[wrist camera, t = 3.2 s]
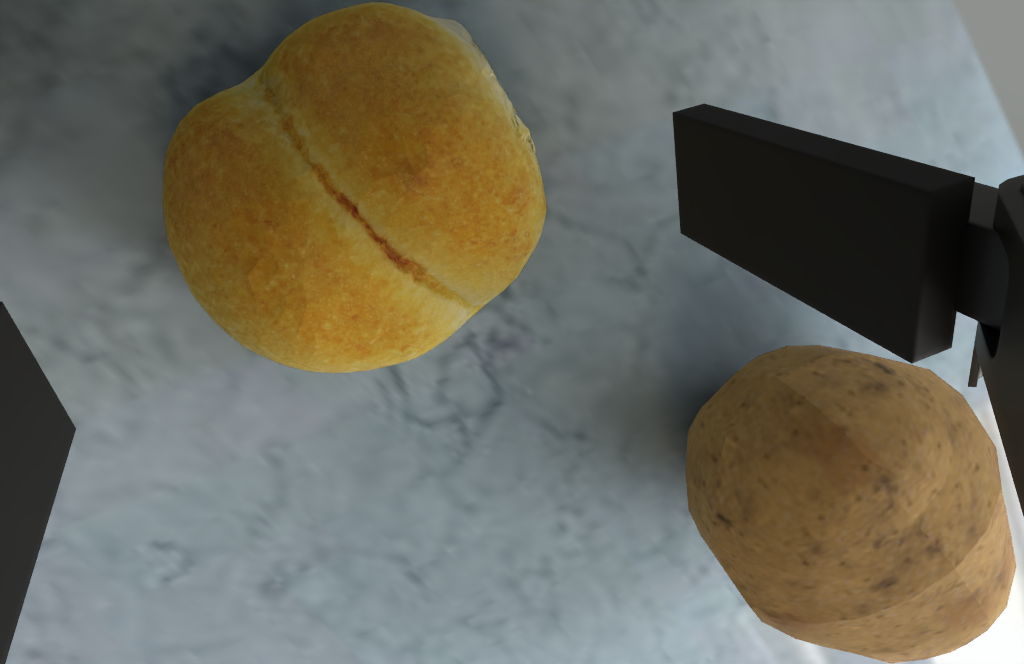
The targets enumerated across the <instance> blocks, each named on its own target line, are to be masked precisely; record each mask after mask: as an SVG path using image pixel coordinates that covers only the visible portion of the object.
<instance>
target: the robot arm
mask: <svg viewBox="0 0 1024 664" xmlns="http://www.w3.org/2000/svg"><path fill="white" fill-rule="evenodd" d="M673 126H674V141H675V156H676V171H677V186H678V200H679V215H680V230H681V234H683V235H685V236H687V237H688V238H690V239H692V240H694V241H696V242H697V243H699V244H701V245H703V246H704V247H706V248H708V249H710V250H711V251H713V252H715V253H717V254H719V255H720V256H722V257H724V258H726V259H727V260H729V261H731V262H733V263H735V264H736V265H738V266H740V267H742V268H743V269H745V270H747V271H749V272H750V273H752V274H754V275H756V276H758V277H759V278H761V279H763V280H765V281H766V282H768V283H770V284H772V285H773V286H775V287H777V288H779V289H781V290H782V291H784V292H786V293H788V294H789V295H791V296H793V297H795V298H797V299H798V300H800V301H802V302H804V303H805V304H807V305H809V306H811V307H812V308H814V309H816V310H818V311H820V312H821V313H823V314H825V315H827V316H828V317H830V318H832V319H834V320H836V321H837V322H839V323H841V324H843V325H844V326H846V327H848V328H850V329H851V330H853V331H855V332H857V333H859V334H860V335H862V336H864V337H866V338H867V339H869V340H871V341H873V342H874V343H876V344H878V345H880V346H882V347H883V348H885V349H887V350H889V351H890V352H892V353H894V354H896V355H898V356H899V357H901V358H903V359H905V360H906V361H908V362H910V363H914V362H917V361H919V360H922V359H924V358H927V357H929V356H932V355H934V354H937V353H939V352H942V351H944V350H947V349H949V348H952V341H953V333H954V326H955V319H956V312H960V313H962V314H964V315H966V316H968V317H970V318H973V319H975V320H977V321H978V324H977V331H976V337H975V344H974V350H973V356H972V363H971V369H970V376H969V382H968V387H976V386H977V381H978V379H979V378H980V377H982V376H983V377H984V380H985V384H986V387H987V391H988V394H989V398H990V401H991V405H992V408H993V412H994V415H995V419H996V422H997V426H998V429H999V432H1000V436H1001V439H1002V443H1003V446H1004V450H1005V453H1006V457H1007V460H1008V464H1009V467H1010V471H1011V474H1012V478H1013V481H1014V485H1015V488H1016V492H1017V495H1018V498H1019V502H1020V505H1021V509H1022V512H1023V516H1024V175H1022V176H1018V177H1014V178H1010V179H1007V180H1006V181H1004V182H1003V183H1001V184H1000V185H999V189H998V188H994V187H991V186H987V185H984V184H980V183H976V182H974V181H975V177H971V176H967V175H964V174H960V173H956V172H953V171H949V170H945V169H942V168H938V167H934V166H931V165H927V164H923V163H920V162H916V161H912V160H909V159H905V158H901V157H898V156H894V155H890V154H887V153H883V152H879V151H876V150H872V149H868V148H865V147H861V146H857V145H854V144H850V143H846V142H843V141H839V140H836V139H832V138H828V137H825V136H821V135H817V134H814V133H810V132H806V131H803V130H799V129H795V128H792V127H788V126H784V125H781V124H777V123H773V122H770V121H766V120H762V119H759V118H755V117H751V116H748V115H744V114H740V113H737V112H733V111H729V110H726V109H722V108H718V107H715V106H711V105H707V104H701V105H698V106H694V107H690V108H687V109H683V110H680V111H676V112H673ZM75 430H76V428H75V426H74V424H73V423H72V421H71V419H70V417H69V416H68V414H67V412H66V411H65V409H64V407H63V405H62V404H61V402H60V400H59V399H58V397H57V395H56V393H55V392H54V390H53V388H52V387H51V385H50V383H49V381H48V380H47V378H46V376H45V374H44V373H43V371H42V369H41V368H40V366H39V364H38V362H37V361H36V359H35V357H34V356H33V354H32V352H31V350H30V349H29V347H28V345H27V344H26V342H25V340H24V338H23V337H22V335H21V333H20V331H19V330H18V328H17V326H16V325H15V323H14V321H13V319H12V318H11V316H10V314H9V313H8V311H7V309H6V307H5V306H4V304H3V302H0V664H5V662H6V659H7V656H8V652H9V649H10V646H11V642H12V639H13V636H14V632H15V629H16V626H17V623H18V619H19V616H20V613H21V609H22V606H23V603H24V599H25V596H26V593H27V589H28V586H29V583H30V579H31V576H32V573H33V569H34V566H35V563H36V560H37V556H38V553H39V550H40V546H41V543H42V540H43V536H44V533H45V530H46V526H47V523H48V520H49V516H50V513H51V510H52V506H53V503H54V500H55V496H56V493H57V490H58V487H59V483H60V480H61V477H62V473H63V470H64V467H65V463H66V460H67V457H68V453H69V450H70V447H71V443H72V440H73V437H74V433H75Z"/></svg>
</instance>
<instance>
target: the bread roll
mask: <svg viewBox="0 0 1024 664" xmlns="http://www.w3.org/2000/svg"><path fill="white" fill-rule="evenodd" d="M535 152H536V149H535V145H534V142H533V139H532V138H531V136H530V131H529V129H528V128H527V127H526V126H525V125H524V124H523V123H522V121H521V120H520V119H519V117H518V116H517V115H516V110H515V108H514V107H513V105H512V103H511V101H510V100H509V98H508V96H507V95H506V93H505V91H504V90H503V88H502V87H501V86H500V84H499V83H498V80H497V78H496V76H495V74H494V72H493V70H492V69H491V67H490V65H489V63H488V62H487V60H486V58H485V56H484V55H483V54H482V52H481V51H480V50H479V48H478V46H477V45H476V44H475V43H474V41H473V39H472V36H471V35H470V34H469V32H468V31H467V30H466V29H465V28H464V27H463V26H462V25H461V24H460V23H459V22H457V21H455V20H451V19H442V18H437V17H431V16H427V15H425V14H423V13H420V12H418V11H415V10H413V9H409V8H405V7H402V6H398V5H395V4H389V3H383V2H368V3H363V4H358V5H353V6H350V7H346V8H343V9H339V10H336V11H333V12H329V13H326V14H324V15H321V16H319V17H316V18H314V19H311V20H309V21H308V22H306V23H305V24H303V25H302V26H301V27H299V28H298V29H296V30H295V31H294V32H293V33H291V34H290V35H289V36H288V37H286V38H285V39H284V41H283V42H282V43H281V44H280V45H279V46H278V47H277V48H276V49H275V50H274V51H273V52H272V54H271V55H270V57H269V59H268V60H267V62H266V63H265V64H264V66H262V67H261V68H260V69H259V70H258V71H257V72H255V73H254V74H253V75H252V76H250V77H249V78H248V79H246V80H245V81H244V82H242V83H241V84H239V85H236V86H234V87H231V88H229V89H226V90H223V91H221V92H219V93H217V94H215V95H213V96H211V97H210V98H208V99H206V100H204V101H202V102H200V103H199V104H197V105H196V106H194V107H193V108H192V109H191V110H190V112H189V113H188V114H187V115H186V116H185V117H184V118H183V119H182V120H181V122H180V123H179V125H178V127H177V129H176V131H175V133H174V135H173V137H172V139H171V141H170V143H169V146H168V149H167V152H166V156H165V161H164V177H163V209H164V219H165V226H166V232H167V238H168V243H169V246H170V248H171V250H172V252H173V254H174V257H175V259H176V261H177V263H178V265H179V268H180V270H181V273H182V275H183V277H184V279H185V281H186V283H187V285H188V287H189V289H190V291H191V293H192V294H193V296H194V297H195V299H196V300H197V301H198V303H199V304H200V305H201V306H202V307H203V309H204V310H205V311H206V312H207V313H208V315H209V316H210V317H211V318H212V319H213V320H214V322H215V323H216V324H217V325H219V326H220V327H221V328H222V329H223V330H224V331H226V332H227V333H228V334H229V335H230V336H231V337H233V338H234V339H235V340H236V341H237V342H239V343H240V344H241V345H242V346H244V347H245V348H247V349H249V350H251V351H253V352H255V353H256V354H258V355H261V356H263V357H266V358H268V359H270V360H273V361H275V362H277V363H280V364H283V365H286V366H289V367H293V368H297V369H302V370H306V371H311V372H325V373H344V372H356V371H364V370H372V369H377V368H382V367H386V366H390V365H394V364H398V363H401V362H405V361H408V360H411V359H414V358H417V357H419V356H421V355H422V354H424V353H426V352H428V351H430V350H431V349H433V348H434V347H436V346H437V345H439V344H441V343H443V342H444V341H445V340H446V339H448V338H449V337H450V336H451V335H452V334H453V333H454V332H455V331H457V330H458V329H459V328H460V327H461V326H462V325H463V324H465V323H466V322H467V321H468V320H469V319H470V318H471V317H472V316H473V315H474V314H475V313H476V312H477V311H479V310H480V309H481V308H482V307H484V306H485V305H486V304H487V303H488V302H490V301H491V300H492V299H493V298H495V297H496V296H497V295H498V294H500V293H501V292H502V291H504V290H505V289H506V288H507V287H508V286H509V285H510V284H511V283H512V282H513V281H514V280H515V279H516V278H517V277H518V276H519V274H520V272H521V271H522V269H523V267H524V266H525V264H526V262H527V261H528V259H529V258H530V256H531V254H532V253H533V251H534V249H535V248H536V246H537V244H538V241H539V239H540V236H541V233H542V229H543V226H544V222H545V216H546V211H547V205H546V198H545V193H544V188H543V181H542V177H541V173H540V168H539V163H537V156H536V154H535Z"/></svg>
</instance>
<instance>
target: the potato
mask: <svg viewBox="0 0 1024 664" xmlns="http://www.w3.org/2000/svg"><path fill="white" fill-rule="evenodd" d="M686 483H687V496H688V508H689V511H690V513H691V516H692V518H693V520H694V522H695V524H696V526H697V528H698V530H699V532H700V534H701V536H702V538H703V539H704V541H705V542H706V544H707V545H708V546H709V548H710V549H711V551H712V552H713V554H714V555H715V557H716V558H717V560H718V561H719V563H720V564H721V565H722V567H723V568H724V570H725V571H726V573H727V574H728V576H729V577H730V579H731V580H732V582H733V583H734V584H735V586H736V587H737V589H738V590H739V592H740V593H741V595H742V596H743V598H744V599H745V601H746V602H747V603H748V605H749V606H750V607H751V609H752V610H753V611H754V612H755V614H756V615H757V616H758V617H759V619H760V620H761V621H762V622H764V623H766V624H768V625H770V626H772V627H774V628H776V629H778V630H779V631H781V632H783V633H785V634H787V635H789V636H791V637H793V638H795V639H799V640H802V641H806V642H809V643H813V644H817V645H820V646H824V647H828V648H832V649H837V650H841V651H846V652H850V653H855V654H859V655H863V656H866V657H870V658H873V659H877V660H880V661H884V662H888V663H897V662H906V661H914V660H923V659H928V658H931V657H935V656H938V655H942V654H946V653H949V652H952V651H954V650H956V649H958V648H960V647H962V646H964V645H966V644H968V643H969V642H971V641H972V640H974V639H975V638H977V637H978V636H980V635H981V634H983V633H984V632H986V631H987V630H988V629H989V628H990V627H991V625H992V624H993V623H994V622H995V620H996V619H997V618H998V617H999V616H1000V614H1001V613H1002V612H1003V611H1004V609H1005V608H1006V607H1007V603H1008V598H1009V594H1010V590H1011V586H1012V582H1013V578H1014V573H1015V569H1016V562H1015V556H1014V550H1013V544H1012V538H1011V533H1010V527H1009V522H1008V517H1007V511H1006V506H1005V502H1004V497H1003V493H1002V487H1001V479H1000V472H999V465H998V457H997V450H996V447H995V445H994V444H993V442H992V440H991V439H990V437H989V436H988V434H987V432H986V431H985V429H984V428H983V426H982V425H981V423H980V421H979V420H978V418H977V417H976V415H975V413H974V412H973V410H972V409H971V407H970V406H969V404H968V403H967V401H966V400H965V398H964V397H963V395H962V394H960V393H959V392H958V391H957V390H955V389H954V388H953V387H951V386H950V385H949V384H947V383H946V382H945V381H944V380H942V379H941V378H940V377H938V376H937V375H936V374H935V373H933V372H932V371H931V370H929V369H925V368H921V367H917V366H913V365H909V364H905V363H902V362H897V361H893V360H889V359H885V358H881V357H877V356H873V355H868V354H863V353H858V352H852V351H847V350H842V349H836V348H831V347H826V346H820V345H808V346H785V347H783V348H780V349H777V350H774V351H771V352H768V353H765V354H762V355H759V356H758V357H756V358H755V359H753V360H752V361H751V362H749V363H748V364H746V365H745V366H744V367H742V368H741V369H740V370H739V371H738V372H737V373H736V374H735V375H733V376H732V377H731V378H730V379H729V380H728V381H727V382H726V383H725V384H724V385H723V386H722V387H720V389H719V390H718V391H717V392H716V393H715V394H714V395H713V396H712V397H711V398H710V399H709V400H708V401H707V402H706V403H705V404H704V405H703V406H702V407H701V408H700V410H699V412H698V414H697V415H696V417H695V419H694V421H693V423H692V424H691V426H690V428H689V430H688V442H687V458H686Z"/></svg>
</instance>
